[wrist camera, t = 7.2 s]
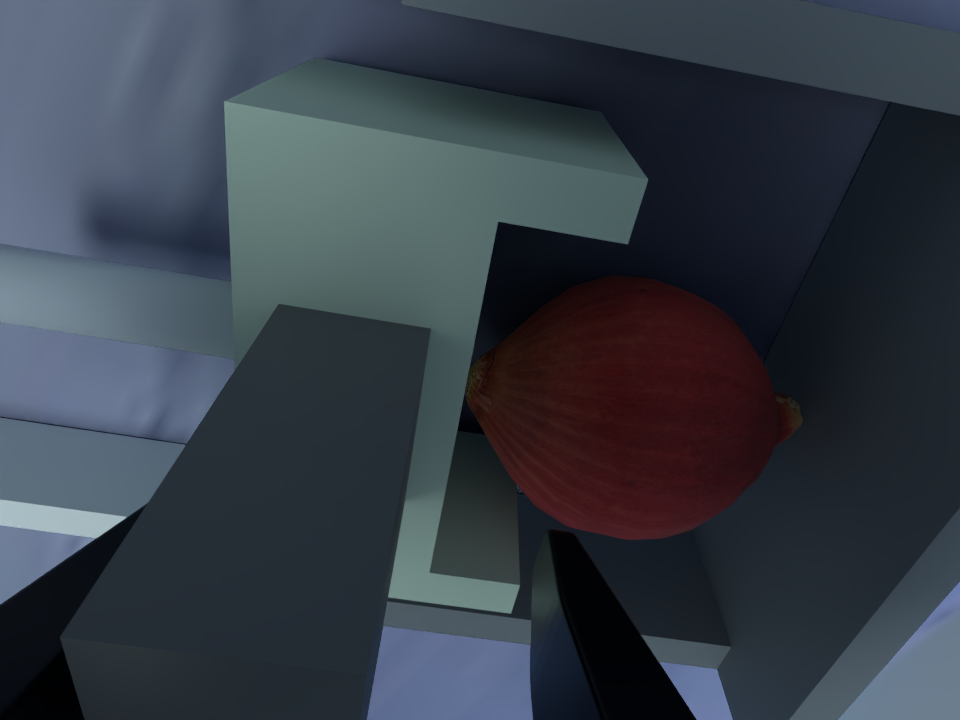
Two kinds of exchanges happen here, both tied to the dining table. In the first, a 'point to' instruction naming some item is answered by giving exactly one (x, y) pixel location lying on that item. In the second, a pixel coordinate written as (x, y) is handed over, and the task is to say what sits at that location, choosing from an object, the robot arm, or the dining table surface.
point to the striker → (323, 389)
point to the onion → (630, 408)
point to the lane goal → (792, 369)
